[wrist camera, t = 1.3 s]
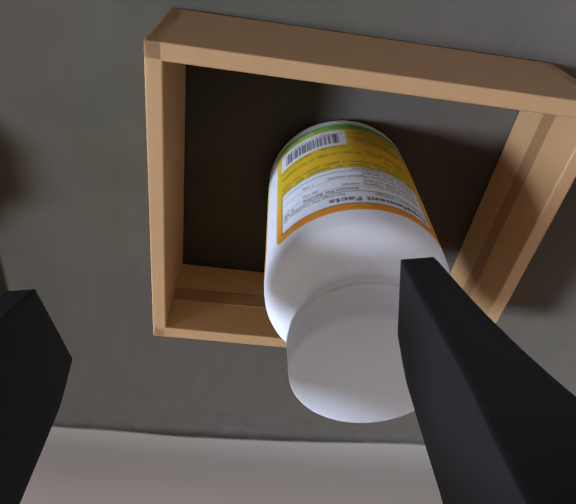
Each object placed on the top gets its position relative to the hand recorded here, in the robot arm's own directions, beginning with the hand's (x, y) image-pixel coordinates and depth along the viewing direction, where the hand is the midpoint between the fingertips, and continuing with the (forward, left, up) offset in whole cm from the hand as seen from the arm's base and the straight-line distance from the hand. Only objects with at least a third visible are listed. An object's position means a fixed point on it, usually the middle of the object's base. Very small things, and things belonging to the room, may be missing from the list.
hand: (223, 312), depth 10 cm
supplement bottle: (-4, +2, -10) cm, 11 cm away
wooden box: (-4, +2, -10) cm, 11 cm away
